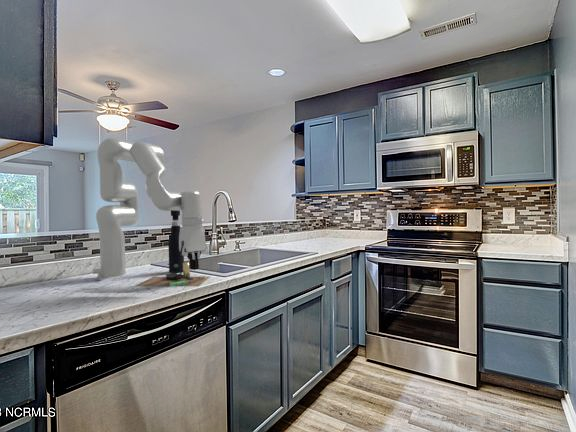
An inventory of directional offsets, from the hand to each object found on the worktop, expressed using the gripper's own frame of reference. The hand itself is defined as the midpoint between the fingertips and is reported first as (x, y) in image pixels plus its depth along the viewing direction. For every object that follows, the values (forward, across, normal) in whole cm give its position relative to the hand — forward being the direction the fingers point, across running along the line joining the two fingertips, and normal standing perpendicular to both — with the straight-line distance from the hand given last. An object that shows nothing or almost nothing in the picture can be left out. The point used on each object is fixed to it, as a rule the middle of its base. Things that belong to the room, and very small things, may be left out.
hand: (194, 269), depth 125 cm
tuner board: (+6, +4, -7) cm, 10 cm away
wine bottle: (+6, -8, -20) cm, 22 cm away
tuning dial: (+4, +3, -5) cm, 7 cm away
